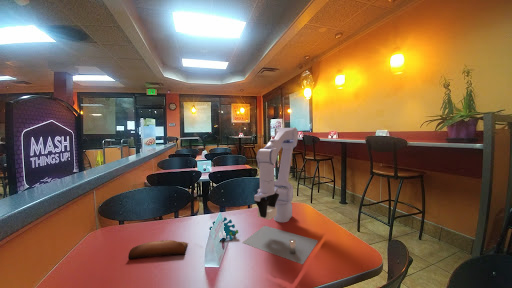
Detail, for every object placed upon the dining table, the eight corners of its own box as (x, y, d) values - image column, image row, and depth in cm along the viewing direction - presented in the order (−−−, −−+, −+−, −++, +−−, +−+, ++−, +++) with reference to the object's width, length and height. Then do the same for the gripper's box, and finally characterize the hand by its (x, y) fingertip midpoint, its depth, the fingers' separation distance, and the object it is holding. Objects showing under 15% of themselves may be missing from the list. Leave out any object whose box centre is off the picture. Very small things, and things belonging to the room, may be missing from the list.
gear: (205, 241, 75) (213, 214, 81) (207, 245, 79) (215, 220, 86) (234, 246, 74) (240, 219, 80) (235, 250, 78) (241, 224, 84)
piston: (290, 250, 69) (290, 238, 69) (296, 252, 68) (296, 240, 68) (288, 253, 67) (288, 241, 67) (294, 255, 66) (294, 243, 66)
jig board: (264, 227, 88) (264, 225, 88) (318, 243, 75) (318, 240, 75) (241, 245, 74) (241, 242, 74) (302, 267, 62) (302, 264, 62)
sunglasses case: (189, 241, 77) (187, 231, 73) (187, 261, 71) (184, 250, 68) (138, 246, 75) (133, 235, 71) (131, 266, 69) (125, 255, 65)
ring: (265, 212, 84) (264, 205, 84) (276, 215, 81) (276, 207, 80) (257, 216, 79) (257, 209, 79) (269, 219, 76) (269, 212, 76)
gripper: (267, 175, 87) (268, 206, 88) (247, 182, 75) (248, 218, 76) (282, 177, 83) (282, 209, 84) (263, 184, 71) (264, 222, 72)
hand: (267, 214), depth 80 cm, fingers closed on ring, 5 cm apart
